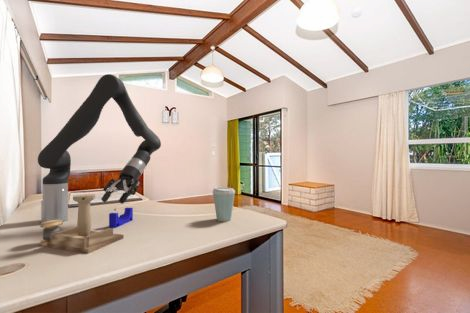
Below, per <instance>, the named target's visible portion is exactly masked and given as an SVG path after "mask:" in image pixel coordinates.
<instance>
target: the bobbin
mask: <svg viewBox="0 0 470 313" xmlns="http://www.w3.org/2000/svg"><path fill="white" fill-rule="evenodd" d="M63 223H64V221H63V220H51V221H45V222H41V223H39V224H40V228H43V229H42V239H41V240H40V246H42V247H46V243H48V242H50V234H53V233H56V232H59V231H61V226H62V225H63Z"/></svg>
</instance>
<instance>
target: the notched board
mask: <svg viewBox="0 0 470 313" xmlns="http://www.w3.org/2000/svg"><path fill="white" fill-rule="evenodd" d="M124 236H125V235H124V234H121V233H114V228H109V227H108V228H105V229H104V230H100V231H95V230H91V232H90V235H89V236H86V237H83V236H79V235H78V230H77V225H76V226H73V227H69V228H66V229H63V230H60V231H59V232H56V233H53V234H50V242H48V243H46V246H47V247H48V248H52V247H53V248H52V249H60V250H65V251H72V252H78V253H83V254H90V253H93V252H94V251H95V252H96V251H98V250H99V249H102V248H105V247H106V246H108V245H111V244H113V243H116V242H118V241H120V240H122V239H124ZM46 246H45V247H46Z"/></svg>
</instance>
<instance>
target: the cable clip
mask: <svg viewBox="0 0 470 313" xmlns="http://www.w3.org/2000/svg"><path fill="white" fill-rule="evenodd" d="M133 208H134V207H125V208H124V212H123V213H122V214H120V215H119V213H118V212H110V213H108V228H113V229H116V228H118V227H120V226H123V225H125V224H128V223H130V222H132V221H133V220H134V219H133V218H134V217H133V216H134V215H133V214H134V213H133V212H134V210H133Z"/></svg>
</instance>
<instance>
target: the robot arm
mask: <svg viewBox="0 0 470 313" xmlns="http://www.w3.org/2000/svg"><path fill="white" fill-rule="evenodd" d="M111 98H112V99H113V100H114V102H115V103H116V104H117V105H118V108H120V110H121V112H122V115H123V117H124V119H125V121H126V123H127V125H128V127H129V129H130V130H131V132H132V133H133V134H134V136H136V137H138V138H139V137H141V138H143V141H141V143H140V144H139V145H138V147H137V149H136V152H135V153H134V154H133V156H132V157H131V158H130V160H128V162H126V164H125V165H124V167H123V168H122V170H120V172H119V175H118V176H119V178H117V179H114V178H111V179H110V180H109V181H108V183H106V185H105V186H104V187H103V189H102V190H103V191H104V194H103V196H102V197H101V198H100V200H101V201H102V203H106V202H108V200H109V199H110V197H111V196H112V194H115V193H118V192H119V191H122V192H123V193H122V195H121V196H120V197H119V199H118V203H120V204H123V205H124V203H125V202H127V200H128V198H129V197H131V196H134V195H136V193H137V191H138V189H139V188H140V186H141V183H140V181H139V179H140V178H141V176H142V174H143V173H144V171H145V169H146V167H147V165H148V164H149V163H150V160H151V155H153V153H154V152H156V151H158V150H159V149H160V148H161V147H162V142H161V139H160V137H158V135H157V134H156V133H155V132H154V131H153V130H152V129H151V128H149V127H148V125H147V123H146V121H145V120H144V119H143V117H142V115H141V114H140V113H139V111H138V110H137V108H136V107H135V105H134V103H133V101H132V100H131V97H130V96H129V94H128V90H127V89H126V86H125V84H124V82H123V81H122V80H121V78H118V77H117V76H115V75H114V74H112V73H111V74H110V73H108V74H104V75H102V76H101V77H100V78H99V79H98V80H97V82H96V83H95V86H94V87H93V89H92V90H91V91H90V94H89V95H88V97H86V99H85V100H84V101H83V102H82V104H81V105H80V106H79V107H78V109H77V110H76V111H75V112H74V113H73V114H72V116H71V117H70V118H69V119H68V121H67V122H66V124H65V125H63V127H62V128H61V129H60V131H59V132H58V134H57V135H55V137H54V138H52V140H51V141H50V142H49V143H47V145H46V146H45V147H44V148H42V149H41V151H40V152H39V154H38V155H37V164H38V165H39V166H40V167H41V168H44V169H48V170H49V173H48V174H47V175H45V176H43V177H42V200H41V203H40V204H41V207H40V208H41V209H40V210H41V213H40V214H41V216H40V217H41V223H42V222H45V221H51V220H63V222H65V221H68V219H69V190H68V189H69V178H70V176H71V162H72V161H71V160H72V159H71V155H70V153H69V151H68V149H69V148H70V147H71V146H72V145H74V144H75V143H77V142H79V141H81V139H83V138H84V137H86V136H87V135H89V133H90V132H91V131H92V130H93V128H94V127H95V126H96V125H97V123H98V122H99V118H100V116H101V113H102V112H103V111H102V110H103V109H104V107H105V105H106V104H107V103H108V102H109V101H110V100H111Z"/></svg>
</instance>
